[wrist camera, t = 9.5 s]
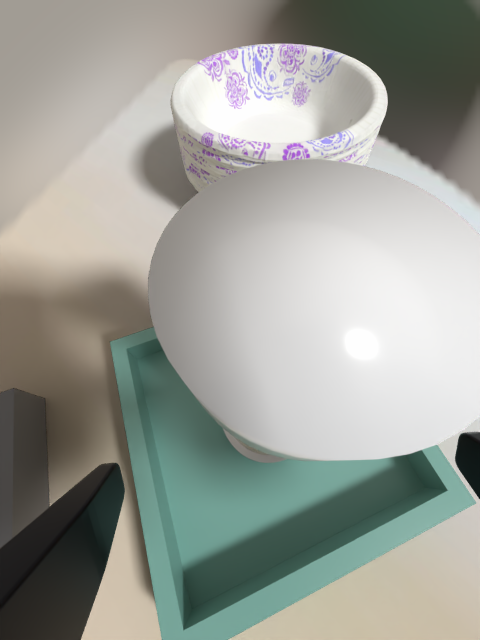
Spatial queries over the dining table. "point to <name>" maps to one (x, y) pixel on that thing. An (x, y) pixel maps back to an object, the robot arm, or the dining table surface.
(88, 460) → the dining table surface
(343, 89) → the paper bowls
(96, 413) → the dining table surface
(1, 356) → the dining table surface
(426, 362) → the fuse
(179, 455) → the parts tray
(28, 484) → the frame
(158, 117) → the dining table surface
